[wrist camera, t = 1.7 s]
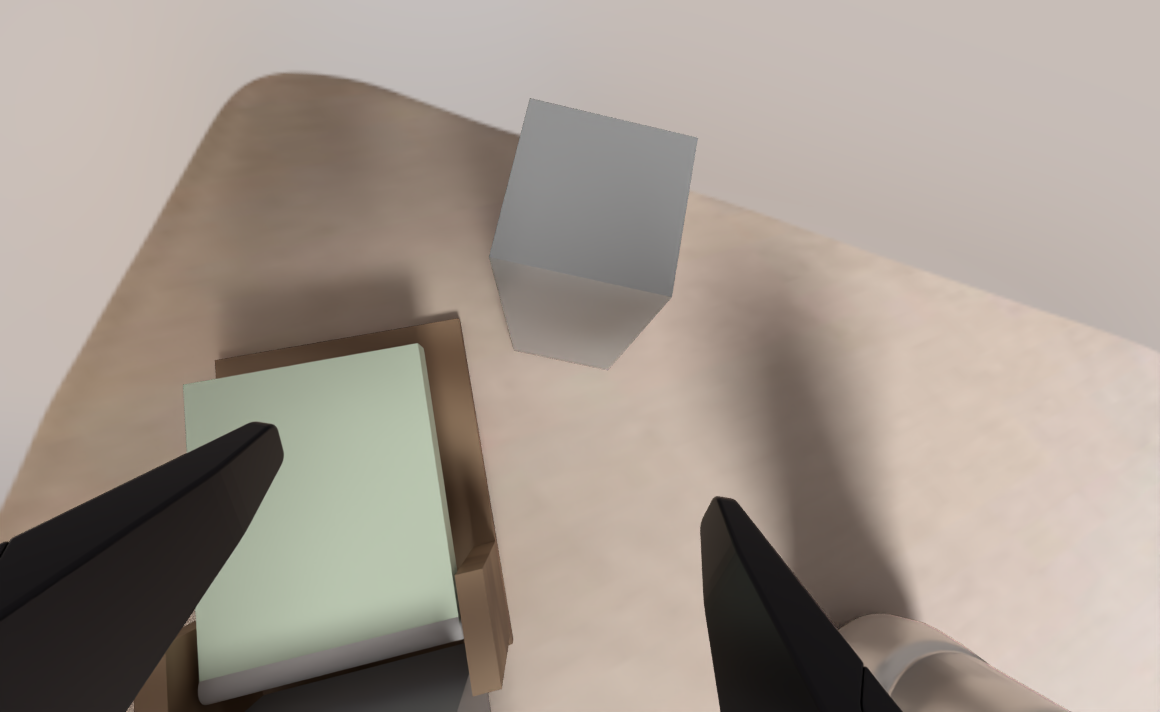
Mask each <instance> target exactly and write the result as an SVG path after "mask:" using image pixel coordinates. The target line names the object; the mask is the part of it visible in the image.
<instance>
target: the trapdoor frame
mask: <svg viewBox="0 0 1160 712" xmlns="http://www.w3.org/2000/svg"><path fill="white" fill-rule="evenodd" d="M416 343H418V344H419V345H421V346H422V347H423V348H424V353H425V360H426V366H427V373H428V380H429V386H430V393H431V400H432V406H433V413H434V420H435V426H436V433H437V440H438V446H439V453H440V460H441V466H442V473H443V480H444V486H445V493H446V500H447V506H448V513H449V520H450V526H451V533H452V539H453V546H454V553H455V559H456V566H457V572H456V574H455V581H456V588H457V595H458V601H459V608H460V615H461V622H462V628H463V635H464V639H462V640H458V641H454V642H450V643H446V644H442V645H438V646H434V647H430V648H427V649H423V650H419V651H415V652H411V653H407V654H403V655H399V656H395V657H392V658H388V659H384V660H380V661H376V662H372V663H368V664H364V665H360V666H357V667H353V668H349V669H345V670H341V671H337V672H333V673H329V674H325V675H322V676H318V677H314V678H310V679H306V680H302V681H298V682H294V683H290V684H287V685H283V686H279V687H275V688H271V689H267V690H263V691H259V692H255V693H252V694H248V695H244V696H240V697H236V698H232V699H228V700H224V701H220V702H217V703H213V704H209V705H203V704H202V703H201V702H200V701H199V698H198V685H199V665H198V647H197V629H196V621H194V622H192V623H190V624H188V625H186V626H184V627H182V629H181V630H180V632H179V633H178V635H177V636H176V638H175V639H174V641H173V642H172V644H171V645H170V647H169V648H168V650H167V651H166V653H165V654H164V656H163V657H162V659H161V660H160V662H159V663H158V665H157V666H156V668H155V669H154V671H153V672H152V674H151V675H150V677H149V678H148V680H147V681H146V683H145V684H144V686H143V687H142V689H141V690H140V692H139V693H138V694H137V696H136V697H135V699H134V712H245V711H246V710H247V709H249V708H250V707H251V706H252V705H253V704H254V703H255V702H256V701H257V700H259V699H260V698H261V697H262V696H263V695H266V694H270V693H274V692H278V691H282V690H286V689H289V688H293V687H297V686H301V685H305V684H309V683H313V682H317V681H320V680H324V679H328V678H332V677H336V676H340V675H344V674H347V673H351V672H355V671H359V670H363V669H367V668H371V667H375V666H378V665H382V664H386V663H390V662H394V661H398V660H402V659H406V658H409V657H413V656H417V655H421V654H425V653H429V652H433V651H436V650H440V649H444V648H448V647H452V646H456V645H460V644H464V643H465V648H466V655H467V662H468V668H469V675H470V682H471V689H472V695H473V696H477V695H481V694H484V693H488V692H492V691H495V690H499V689H502V683H503V677H504V670H505V664H506V658H507V652H508V645H510V644H513V635H512V629H511V623H510V617H509V611H508V605H507V599H506V593H505V587H504V581H503V575H502V569H501V563H500V557H499V551H498V545H497V539H496V533H495V527H494V521H493V515H492V509H491V503H490V497H489V491H488V485H487V479H486V473H485V467H484V461H483V455H482V449H481V443H480V437H479V431H478V425H477V419H476V413H475V407H474V401H473V395H472V389H471V383H470V377H469V371H468V365H467V359H466V353H465V347H464V341H463V335H462V329H461V323H460V320H459V318H457V319H452V320H446V321H440V322H434V323H428V324H423V325H417V326H411V327H405V328H399V329H394V330H388V331H382V332H376V333H370V334H365V335H359V336H353V337H347V338H341V339H336V340H330V341H324V342H318V343H313V344H307V345H301V346H295V347H289V348H284V349H278V350H272V351H266V352H260V353H255V354H249V355H243V356H237V357H231V358H226V359H220V360H215V370H216V379H218V378H224V377H230V376H235V375H241V374H247V373H252V372H258V371H264V370H269V369H275V368H280V367H286V366H292V365H297V364H303V363H309V362H314V361H320V360H326V359H331V358H337V357H343V356H348V355H354V354H359V353H365V352H371V351H376V350H382V349H388V348H393V347H399V346H405V345H410V344H416Z"/></svg>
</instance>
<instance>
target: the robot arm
mask: <svg viewBox="0 0 1160 712" xmlns="http://www.w3.org/2000/svg"><path fill="white" fill-rule="evenodd" d="M283 459H284V451H283V447H282V443H281V439H280V435H279V431H278V428H277V427H276V426H275V425H274V424H270V423H263V422H257V421H255V422H250V423H247V424H245V425H243V426H241V427H239V428H237V429H235V430H233V431H231V432H229V433H227V434H225V435H223V436H221V437H219V438H217V439H215V440H212V441H210V442H208V443H206V444H204V445H202V446H200V447H198V448H196V449H194V450H192V451H190V452H188V453H186V454H184V455H182V456H180V457H178V458H176V459H173V460H171V461H169V462H167V463H165V464H163V465H161V466H159V467H157V468H155V469H153V470H151V471H149V472H147V473H145V474H143V475H141V476H139V477H137V478H134V479H132V480H130V481H128V482H126V483H124V484H122V485H120V486H118V487H116V488H114V489H112V490H110V491H108V492H106V493H104V494H102V495H100V496H97V497H95V498H93V499H91V500H89V501H87V502H85V503H83V504H81V505H79V506H77V507H75V508H73V509H71V510H69V511H67V512H65V513H63V514H61V515H58V516H56V517H54V518H52V519H50V520H48V521H46V522H44V523H42V524H40V525H38V526H36V527H34V528H32V529H30V530H28V531H26V532H24V533H21V534H19V535H17V536H15V537H13V538H12V539H11V540H10V541H9V542H3V543H1V544H0V712H126V711H127V709H128V708H129V706H130V705H131V703H132V702H133V700H134V699H135V697H136V696H137V694H138V693H139V692H140V690H141V689H142V687H143V686H144V684H145V683H146V681H147V680H148V678H149V677H150V675H151V674H152V672H153V671H154V669H155V668H156V666H157V665H158V663H159V662H160V660H161V659H162V657H163V656H164V654H165V653H166V651H167V650H168V648H169V647H170V645H171V644H172V642H173V641H174V639H175V638H176V636H177V635H178V633H179V632H180V630H181V629H182V627H183V626H184V624H185V623H186V621H187V620H188V618H189V617H190V615H191V614H192V612H193V611H194V609H195V608H196V606H197V605H198V603H199V602H200V600H201V599H202V597H203V596H204V594H205V593H206V591H207V590H208V588H209V587H210V585H211V584H212V583H213V581H214V580H215V578H216V577H217V575H218V574H219V572H220V571H221V569H222V568H223V566H224V565H225V563H226V562H227V560H228V559H229V557H230V556H231V554H232V553H233V551H234V550H235V548H236V547H237V545H238V544H239V542H240V540H241V539H242V537H243V536H244V534H245V532H246V531H247V529H248V527H249V525H250V524H251V522H252V520H253V518H254V516H255V514H256V512H257V510H258V509H259V507H260V505H261V503H262V501H263V499H264V497H265V495H266V493H267V492H268V490H269V488H270V486H271V484H272V482H273V480H274V478H275V476H276V474H277V473H278V471H279V469H280V467H281V465H282V462H283ZM700 535H701V557H702V578H703V597H704V607H705V615H706V622H707V628H708V634H709V641H710V647H711V654H712V660H713V667H714V673H715V679H716V686H717V692H718V699H719V705H720V712H903V711H902V710H901V708H900V707H899V706H898V705H897V704H896V702H895V701H894V700H893V699H892V697H891V696H890V695H889V694H888V692H887V691H886V690H885V689H884V688H883V686H882V685H881V684H880V682H879V681H878V680H877V679H876V677H875V676H874V675H873V674H872V672H871V671H870V670H869V669H868V667H866V666H864V663H863V661H862V660H861V659H860V657H859V656H858V655H857V653H856V652H855V651H854V650H853V648H852V647H851V646H850V645H849V643H848V642H847V641H846V640H845V638H844V637H843V636H842V634H841V633H840V632H839V631H838V629H837V628H836V627H835V626H834V624H833V623H832V622H831V620H830V619H829V618H828V617H827V615H826V614H825V613H824V612H823V610H822V609H821V608H820V606H819V605H818V604H817V603H816V601H815V600H814V599H813V598H812V596H811V595H810V594H809V593H808V591H807V590H806V589H805V587H804V586H803V585H802V584H801V582H800V581H799V580H798V579H797V577H796V576H795V575H794V573H793V572H792V571H791V570H790V568H789V567H788V566H787V565H786V563H785V562H784V561H783V559H782V558H781V557H780V556H779V554H778V553H777V552H776V551H775V549H774V548H773V547H772V546H771V544H770V543H769V542H768V540H767V539H766V538H765V537H764V535H763V534H762V533H761V532H760V530H759V529H758V528H757V526H756V525H755V524H754V523H753V521H752V520H751V519H750V518H749V516H748V515H747V514H746V512H745V511H744V510H743V509H742V507H741V506H740V505H739V504H738V502H737V501H735V500H734V499H732V498H726V497H720V496H716V497H714V498H713V500H712V501H711V503H710V505H709V507H708V509H707V511H706V513H705V515H704V517H703V519H702V522H701V527H700Z"/></svg>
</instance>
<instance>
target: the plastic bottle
mask: <svg viewBox="0 0 1160 712" xmlns="http://www.w3.org/2000/svg"><path fill="white" fill-rule="evenodd" d="M838 631H839V632H840V633H841V634H842V636H843V637H844V638H845V640H846V641H847V642H848V643H849V645H850V646H851V647H852V648H853V650H854V651H855V652H856V653H857V655H858V656H859V657H860V659H861V660H862V661H863V663H864V666H866V667H868V669H869V670H870V671H871V672H872V674H873V675H874V676H875V677H876V679H877V680H878V681H879V682H880V684H881V685H882V686H883V688H884V689H885V690H886V691H887V692H888V694H889V695H890V696H891V697H892V699H893V700H894V701H895V702H896V704H897V705H898V706H899V707H900V708H901V710H902V711H903V712H1071V711H1069V710H1067V709H1065V708H1064V707H1062V706H1060V705H1058V704H1057V703H1055V702H1053V701H1051V700H1050V699H1048V698H1046V697H1044V696H1043V695H1041V694H1039V693H1038V692H1036V691H1034V690H1032V689H1031V688H1029V687H1027V686H1025V685H1024V684H1022V683H1020V682H1018V681H1017V680H1015V679H1013V678H1011V677H1010V676H1008V675H1006V674H1004V673H1003V672H1001V671H999V670H998V669H996V668H994V667H992V666H991V665H989V664H988V663H987V662H985V661H984V660H983V659H981V658H980V657H979V656H977V655H976V654H975V653H973V652H972V651H971V650H969V649H968V648H967V647H965V646H964V645H962V644H961V643H959V642H957V641H956V640H954V639H953V638H951V637H949V636H948V635H946V634H945V633H943V632H941V631H940V630H938V629H936V628H934V627H932V626H930V625H928V624H926V623H923V622H919V621H915V620H912V619H907V618H903V617H899V616H895V615H891V614H879V613H876V614H870V615H864V616H862V617H860V618H857V619H855V620H853V621H851V622H849V623H848V624H846V625H845V626H843V627H842V628H841V629H839V630H838Z"/></svg>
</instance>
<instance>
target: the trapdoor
mask: <svg viewBox="0 0 1160 712" xmlns="http://www.w3.org/2000/svg"><path fill="white" fill-rule="evenodd" d="M183 393H184V411H185V429H186V447H187V453H188V452H190V451H192V450H194V449H196V448H198V447H200V446H202V445H204V444H206V443H208V442H210V441H212V440H215V439H217V438H219V437H221V436H223V435H225V434H227V433H229V432H231V431H233V430H235V429H237V428H239V427H241V426H243V425H245V424H247V423H250V422H255V421H257V422H263V423H270V424H274V425H275V426H276V427H277V428H278V431H279V435H280V439H281V443H282V447H283V451H284V459H283V462H282V465H281V467H280V469H279V471H278V473H277V474H276V476H275V478H274V480H273V482H272V484H271V486H270V488H269V490H268V492H267V493H266V495H265V497H264V499H263V501H262V503H261V505H260V507H259V509H258V510H257V512H256V514H255V516H254V518H253V520H252V522H251V524H250V525H249V527H248V529H247V531H246V532H245V534H244V536H243V537H242V539H241V540H240V542H239V544H238V545H237V547H236V548H235V550H234V551H233V553H232V554H231V556H230V557H229V559H228V560H227V562H226V563H225V565H224V566H223V568H222V569H221V571H220V572H219V574H218V575H217V577H216V578H215V580H214V581H213V583H212V584H211V585H210V587H209V588H208V590H207V591H206V593H205V594H204V596H203V597H202V599H201V600H200V602H199V603H198V605H197V606H196V608H195V611H196V629H197V647H198V665H199V685H198V698H199V701H200V702H201V703H202V704H203V705H209V704H213V703H217V702H220V701H224V700H228V699H232V698H236V697H240V696H244V695H248V694H252V693H255V692H259V691H263V690H267V689H271V688H275V687H279V686H283V685H287V684H290V683H294V682H298V681H302V680H306V679H310V678H314V677H318V676H322V675H325V674H329V673H333V672H337V671H341V670H345V669H349V668H353V667H357V666H360V665H364V664H368V663H372V662H376V661H380V660H384V659H388V658H392V657H395V656H399V655H403V654H407V653H411V652H415V651H419V650H423V649H427V648H430V647H434V646H438V645H442V644H446V643H450V642H454V641H458V640H462V639H464V635H463V628H462V622H461V615H460V608H459V601H458V595H457V588H456V581H455V574H456V572H457V566H456V559H455V553H454V546H453V539H452V533H451V526H450V520H449V513H448V506H447V500H446V493H445V486H444V480H443V473H442V466H441V460H440V453H439V446H438V440H437V433H436V426H435V420H434V413H433V406H432V400H431V393H430V386H429V380H428V373H427V366H426V360H425V353H424V348H423V347H422V346H421V345H419V344H418V343H416V344H410V345H405V346H399V347H393V348H388V349H382V350H376V351H371V352H365V353H359V354H354V355H348V356H343V357H337V358H331V359H326V360H320V361H314V362H309V363H303V364H297V365H292V366H286V367H280V368H275V369H269V370H264V371H258V372H252V373H247V374H241V375H235V376H230V377H224V378H218V379H213V380H207V381H201V382H196V383H190V384H185V385H183ZM245 712H491V709H490V702H489V696H488V693H484V694H481V695H477V696H473V695H472V689H471V682H470V675H469V668H468V662H467V655H466V648H465V643H464V644H460V645H456V646H452V647H448V648H444V649H440V650H436V651H433V652H429V653H425V654H421V655H417V656H413V657H409V658H406V659H402V660H398V661H394V662H390V663H386V664H382V665H378V666H375V667H371V668H367V669H363V670H359V671H355V672H351V673H347V674H344V675H340V676H336V677H332V678H328V679H324V680H320V681H317V682H313V683H309V684H305V685H301V686H297V687H293V688H289V689H286V690H282V691H278V692H274V693H270V694H266V695H263V696H262V697H261V698H260V699H259V700H257V701H256V702H255V703H254V704H253V705H252V706H251V707H250V708H249V709H247V710H246V711H245Z"/></svg>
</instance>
